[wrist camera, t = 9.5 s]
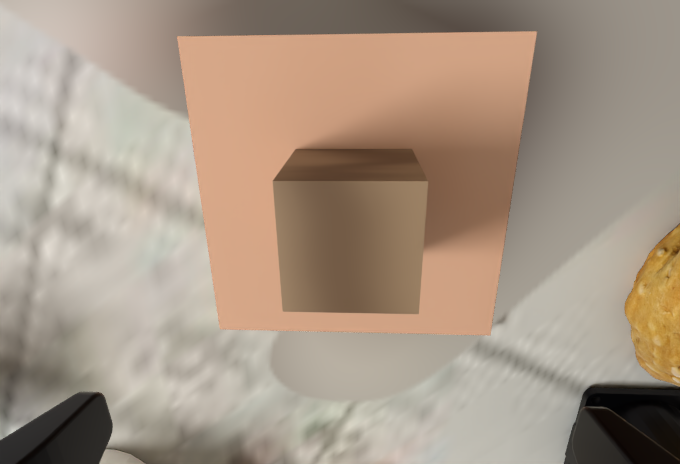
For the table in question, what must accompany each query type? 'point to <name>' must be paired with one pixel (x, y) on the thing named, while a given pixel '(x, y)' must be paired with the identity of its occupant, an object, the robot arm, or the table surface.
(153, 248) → the table surface
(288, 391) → the table surface
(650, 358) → the bagel
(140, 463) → the white cup
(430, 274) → the tile mat
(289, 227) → the walnut cube
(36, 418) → the robot arm
